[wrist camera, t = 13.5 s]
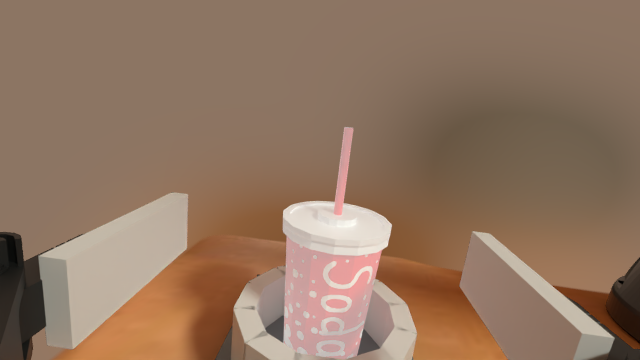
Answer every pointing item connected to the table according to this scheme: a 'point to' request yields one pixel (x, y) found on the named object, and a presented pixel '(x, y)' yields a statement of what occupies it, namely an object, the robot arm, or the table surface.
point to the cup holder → (268, 324)
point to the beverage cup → (330, 270)
